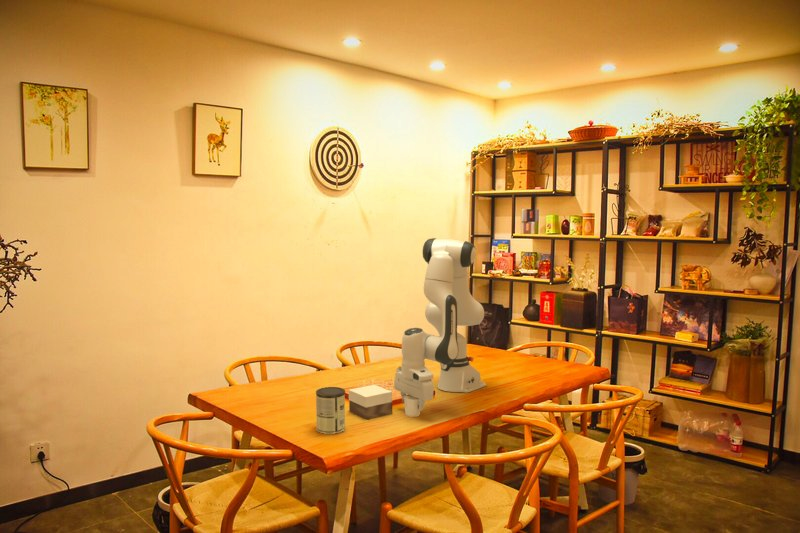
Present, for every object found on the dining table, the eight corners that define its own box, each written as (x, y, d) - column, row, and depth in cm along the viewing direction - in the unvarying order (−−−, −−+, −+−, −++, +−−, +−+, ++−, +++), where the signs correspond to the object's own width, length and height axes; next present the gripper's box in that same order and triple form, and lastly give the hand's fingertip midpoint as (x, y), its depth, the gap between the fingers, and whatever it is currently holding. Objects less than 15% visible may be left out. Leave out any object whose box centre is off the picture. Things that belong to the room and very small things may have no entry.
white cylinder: (411, 410, 243) (411, 392, 242) (425, 414, 238) (425, 396, 238) (400, 414, 238) (400, 396, 237) (414, 418, 233) (414, 400, 233)
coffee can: (318, 424, 226) (318, 386, 225) (346, 424, 226) (346, 386, 225) (313, 434, 216) (313, 394, 215) (343, 434, 216) (342, 395, 214)
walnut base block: (374, 406, 248) (374, 394, 248) (392, 414, 239) (392, 401, 238) (349, 412, 241) (349, 399, 241) (366, 420, 231) (366, 407, 231)
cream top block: (374, 394, 248) (374, 384, 247) (391, 401, 238) (391, 391, 238) (348, 399, 240) (348, 389, 240) (365, 407, 231) (365, 397, 231)
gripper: (390, 366, 243) (390, 401, 244) (423, 377, 227) (422, 414, 228) (403, 364, 247) (403, 398, 248) (436, 375, 230) (436, 411, 232)
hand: (412, 406), depth 238 cm, fingers open, 8 cm apart
